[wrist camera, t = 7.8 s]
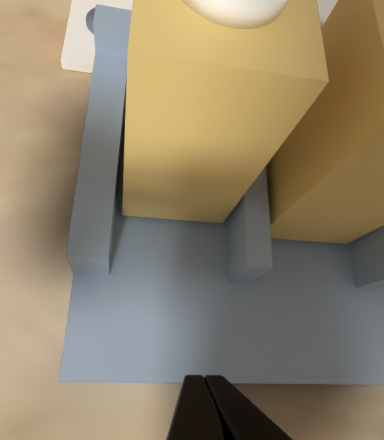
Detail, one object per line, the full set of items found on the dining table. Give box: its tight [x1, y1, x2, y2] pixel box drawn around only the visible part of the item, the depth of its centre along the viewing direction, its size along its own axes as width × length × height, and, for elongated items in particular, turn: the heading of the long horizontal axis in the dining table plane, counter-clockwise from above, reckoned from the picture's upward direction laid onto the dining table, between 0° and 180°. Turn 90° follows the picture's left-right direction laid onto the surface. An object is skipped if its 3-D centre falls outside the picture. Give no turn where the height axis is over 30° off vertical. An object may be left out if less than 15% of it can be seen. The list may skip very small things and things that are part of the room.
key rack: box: [59, 4, 384, 384], centre depth 16 cm, size 14×20×5 cm
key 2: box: [122, 0, 329, 223], centre depth 13 cm, size 5×4×10 cm
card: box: [61, 0, 133, 73], centre depth 21 cm, size 6×10×1 cm, turn 88°
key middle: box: [266, 0, 384, 244], centre depth 13 cm, size 5×4×10 cm
